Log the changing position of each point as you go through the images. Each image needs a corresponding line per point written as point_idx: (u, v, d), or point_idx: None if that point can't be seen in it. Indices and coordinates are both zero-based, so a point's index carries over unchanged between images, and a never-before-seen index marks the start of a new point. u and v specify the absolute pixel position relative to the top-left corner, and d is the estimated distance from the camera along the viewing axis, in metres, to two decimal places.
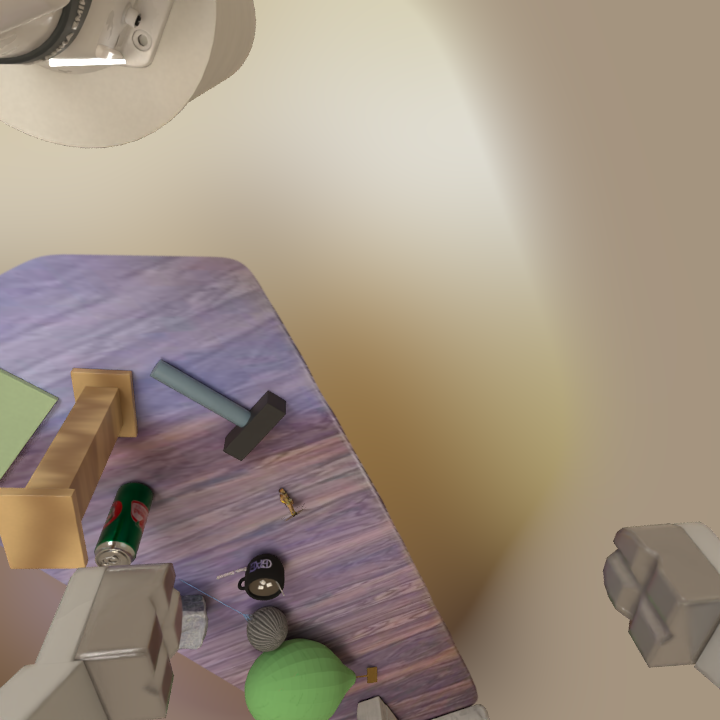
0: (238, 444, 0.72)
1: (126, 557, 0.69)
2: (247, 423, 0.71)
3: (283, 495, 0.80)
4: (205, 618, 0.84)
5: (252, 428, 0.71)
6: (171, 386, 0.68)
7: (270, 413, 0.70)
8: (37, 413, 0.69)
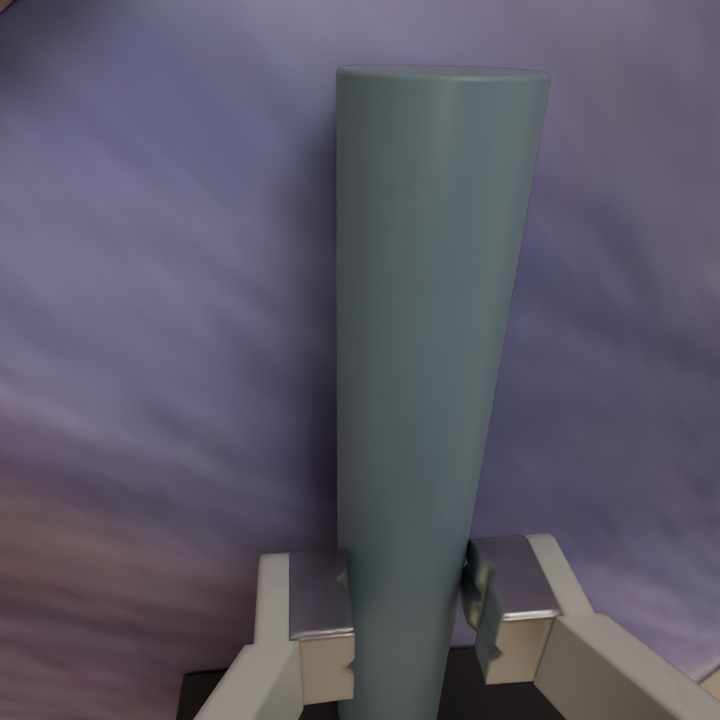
0: None
1: None
2: None
3: None
4: None
5: None
6: (398, 330, 0.07)
7: None
8: None
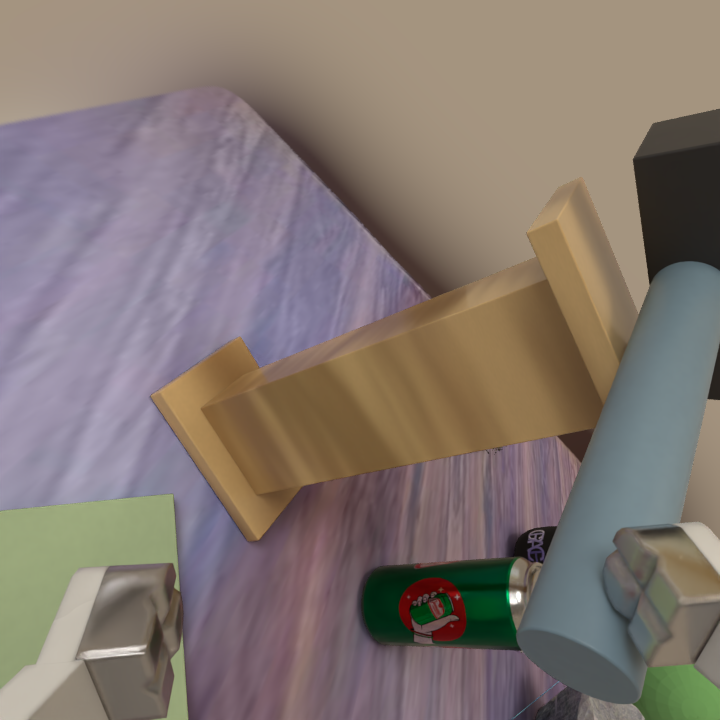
0: None
1: None
2: None
3: None
4: None
5: None
6: None
7: None
8: None
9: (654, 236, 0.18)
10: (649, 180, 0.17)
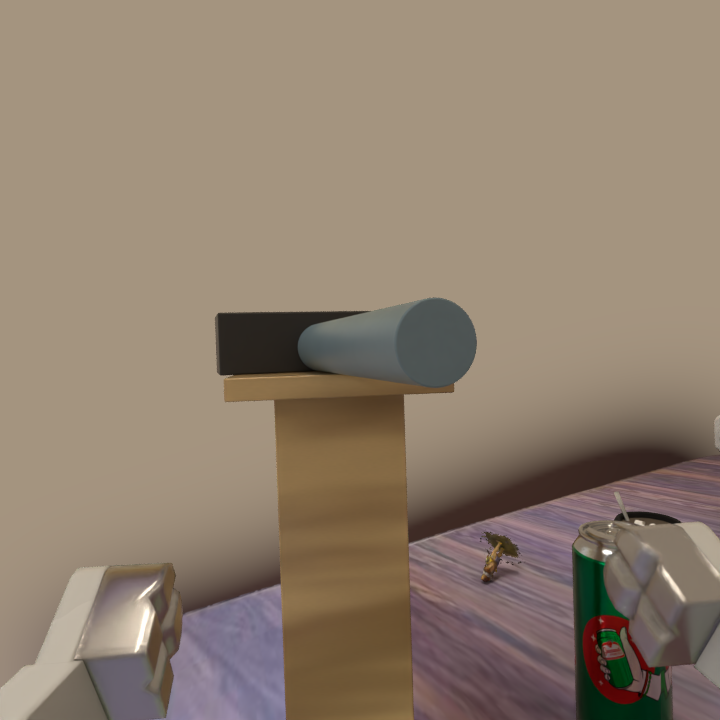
0: None
1: None
2: (308, 317, 0.27)
3: (485, 568, 0.52)
4: None
5: None
6: None
7: None
8: None
9: (277, 365, 0.26)
10: (236, 366, 0.26)
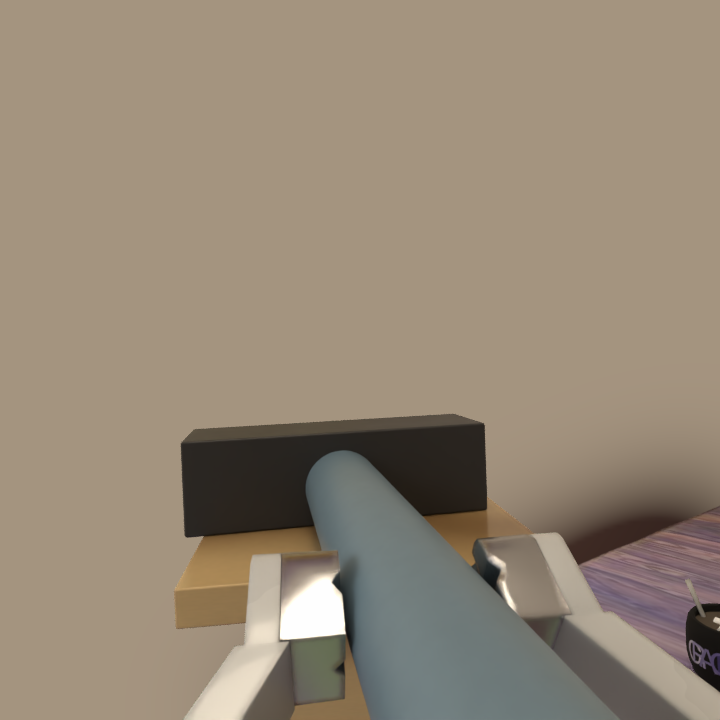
0: (414, 423, 0.19)
1: None
2: (322, 442, 0.17)
3: None
4: None
5: (321, 429, 0.18)
6: (493, 602, 0.07)
7: (220, 433, 0.18)
8: None
9: (274, 519, 0.17)
10: (210, 523, 0.17)
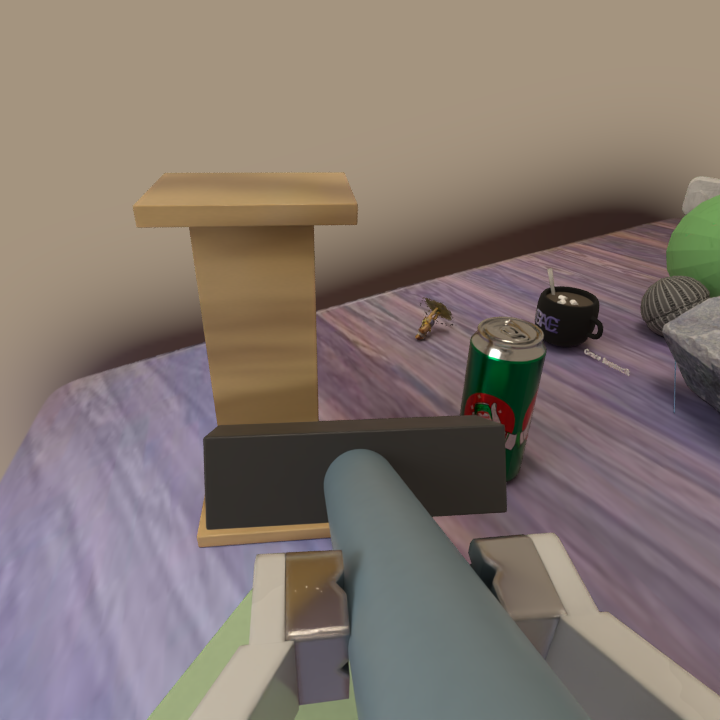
0: (434, 423, 0.19)
1: (496, 321, 0.37)
2: (340, 441, 0.18)
3: (419, 329, 0.59)
4: (670, 321, 0.50)
5: (341, 427, 0.18)
6: (482, 600, 0.07)
7: (242, 430, 0.19)
8: None
9: (292, 514, 0.17)
10: (230, 516, 0.17)
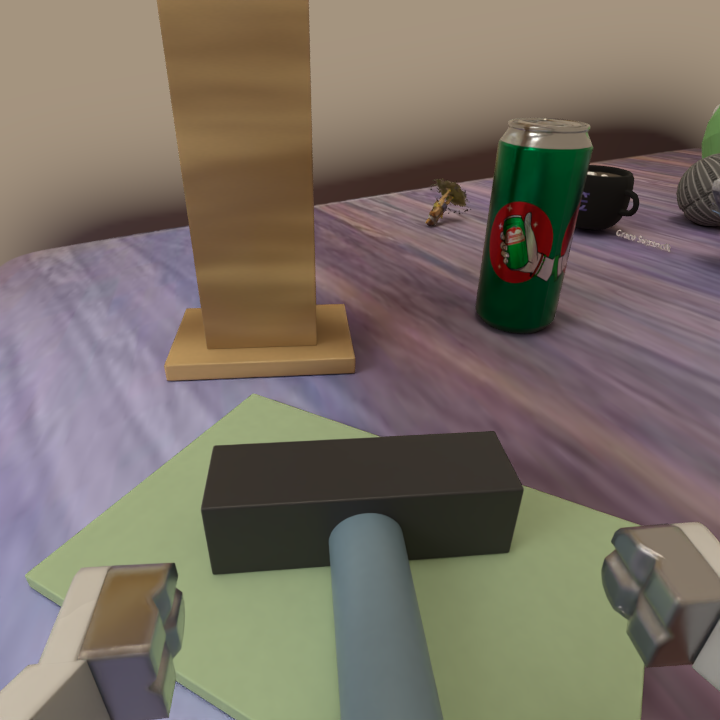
0: (448, 472, 0.18)
1: (529, 121, 0.31)
2: (347, 507, 0.17)
3: None
4: None
5: (348, 479, 0.17)
6: None
7: (241, 476, 0.17)
8: (297, 423, 0.25)
9: (297, 562, 0.18)
10: (235, 565, 0.17)
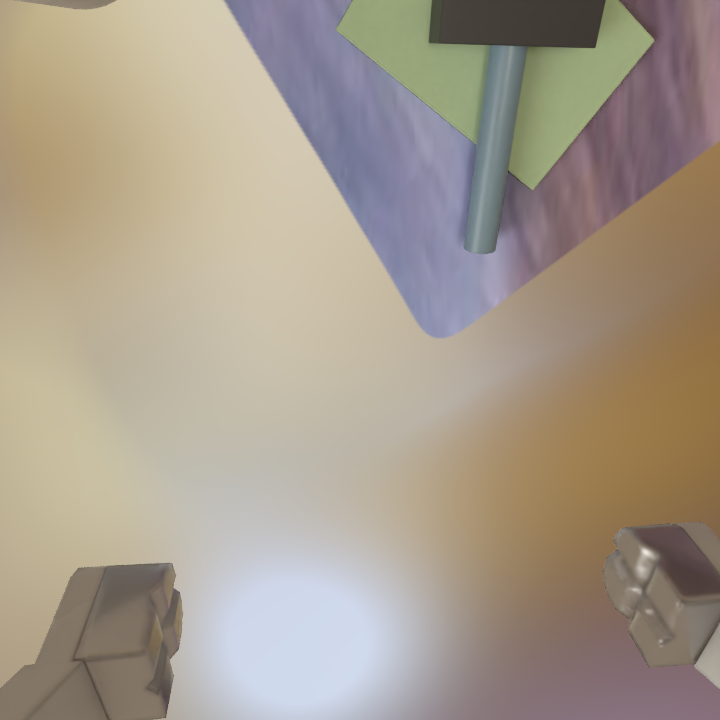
0: (565, 29, 0.33)
1: None
2: (507, 45, 0.33)
3: None
4: None
5: (513, 28, 0.32)
6: (495, 216, 0.39)
7: (459, 18, 0.32)
8: None
9: None
10: None
